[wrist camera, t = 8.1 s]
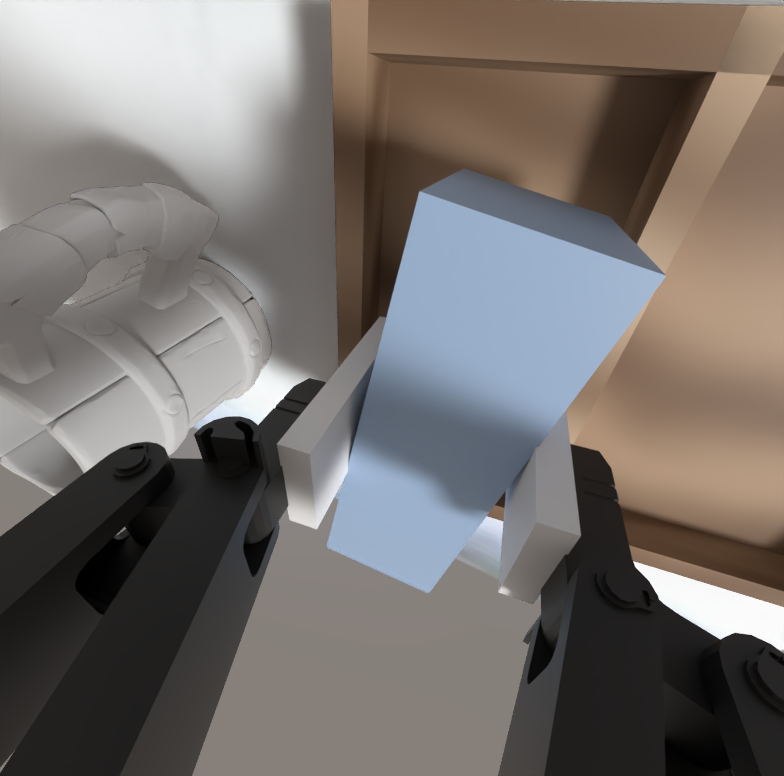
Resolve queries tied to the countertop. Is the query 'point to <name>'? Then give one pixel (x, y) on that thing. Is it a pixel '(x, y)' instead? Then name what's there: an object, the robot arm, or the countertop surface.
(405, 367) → the long blue-grey cuboid
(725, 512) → the tray
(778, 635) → the countertop surface
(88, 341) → the mug
